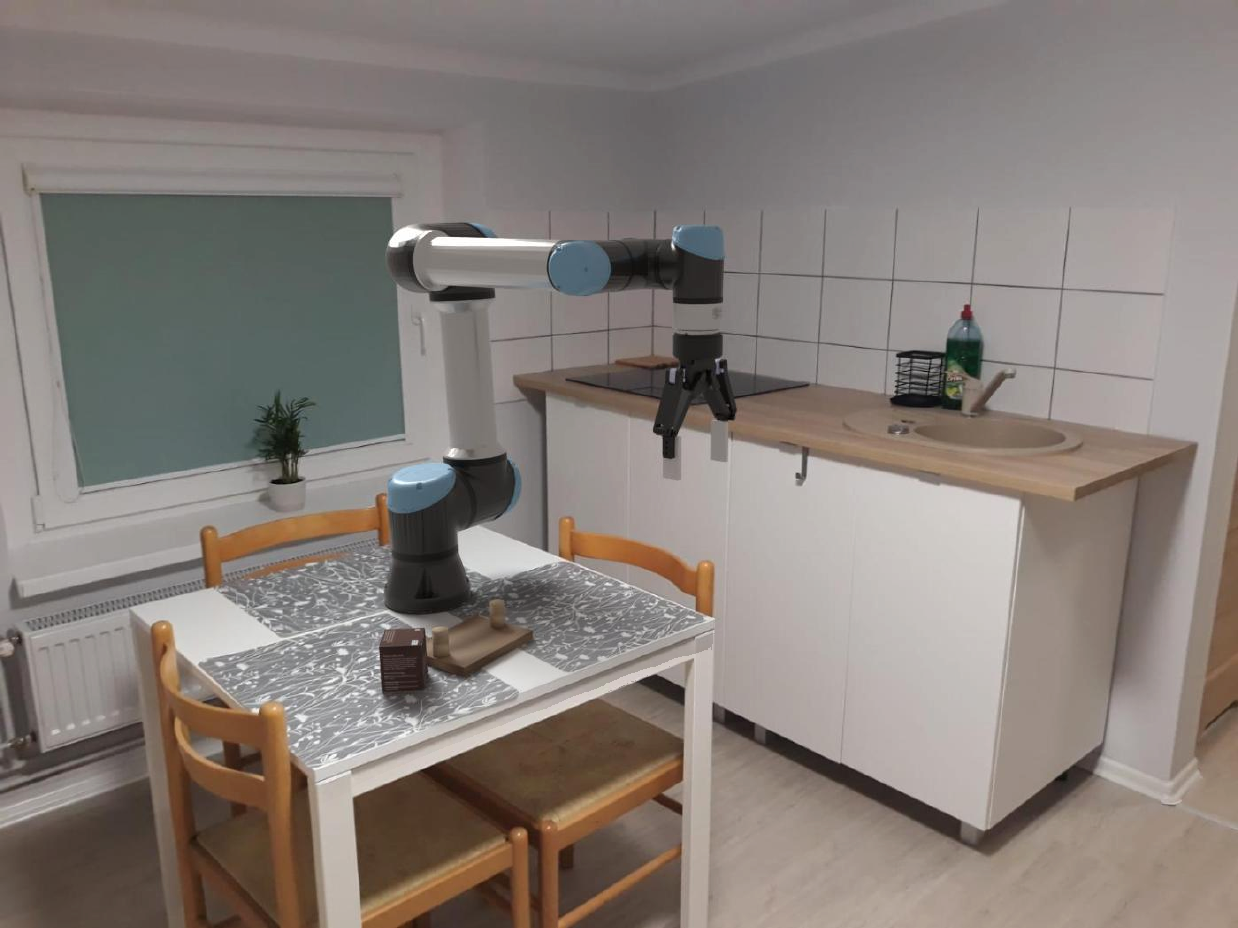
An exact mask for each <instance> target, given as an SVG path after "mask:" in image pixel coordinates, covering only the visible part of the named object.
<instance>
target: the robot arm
mask: <svg viewBox="0 0 1238 928" xmlns="http://www.w3.org/2000/svg"><path fill="white" fill-rule="evenodd" d="M384 259H385V265H386V269H387V272H388V274H389V275H390V278H391V279H392V280H393V281H394V282H395V284H397V285H398V286H399V287H400V288H402V289H404V290H406V291H408V292H412V293H415V294H416V293H417V294H428V297H429V304H430V305H431V306H433V307H434V308H435V309H436V311H438V314H439V325H440V336H441V349H442V350H441V351H442V362H443V371H444V372H443V373H444V385H445V396H446V397H445V399H446V407H447V408H446V409H447V420H448V421H447V422H448V431H449V434H448V435H449V445H448V446H447V447H446V449H445V450H444V451H443V452H442V460H443V461H442V462H424V463H422V464H413V465H409V466H406V467H403V468H402V469H400V470H398V471H395V473H393V474H392V475H391V476H390V478H389V479H388V482H387V484H386V491H387V492H386V494H387V496H386V507H387V516H388V527H389V539H390V540H389V541H390V542H389V543H390V554H391V561H390V564H389V569H388V574H387V578H386V579H387V580H386V582H385V585H384V586H383V587H384V588H383V600H384V604H385V605H386V607H387V608H389V609H391V610H392V611H396V612H400V613H406V614H430V613H431V614H432V613H439V612H444V611H448V610H452V609H455V608H457V607H459V606H461V605H463V604H466V603H467V602H468V601H469V600H470V598H471V596H472V588H471V587H472V586H471V582H470V579H469V576H467V573H466V570H465V567H464V564H463V562H462V558H461V556H460V552H459V551H460V550H459V549H460V548H459V536H458V535H459V533H460V532H462V531H465V530H468V529H471V528H474V527H477V526H479V525H482V524H485V523H489V522H493V521H497V520H499V519H500V518H501V517H503V516H505V515H507V514H509V513H510V512H512V510H513V509H514V508H515V507H516V506H517V505H518V502H519V501H520V497H521V494H522V488H523V483H522V476H521V473H520V470H519V468H518V467H516V463H515V461H514V460H513V459H512V458H511V457H509V456H507V455H508V454H507V448H506V447H505V446H504V445H503V444H501V443H500V442H499V440H498V431H497V428H498V427H497V419H496V418H497V417H496V403H495V391H494V388H495V387H494V378H493V377H494V376H493V375H494V374H493V364H492V349H491V348H492V347H491V334H490V321H489V309H490V307H491V306H492V304H493V303H494V302H495V301H496V289H503V290H523V291H537V292H538V291H539V292H540V291H541V292H554V293H558V292H559V293H562V294H564V295H566V296H574V297H588V296H589V297H591V296H592V295H599V294H606V293H616V292H617V293H618V292H628V291H637V290H664V291H672V316H671V319H672V321H671V322H672V323H671V324H672V325H671V326H672V327H671V328H672V329H673V330H675V332H673V334H672V351H671V352H672V356H673V358H675V359H678V361H679V362H678V368H673V367H667V368H666V369H665V376H664V377H665V378H664V386H663V389H662V393H661V397H660V401H659V404H658V408H657V412H656V414H655V419H654V423H653V427H652V433H653V434H655V435H656V436H661V438H662V446H661V447H662V450H661V451H662V478H663V479H666V480H667V479H669V480H673V481H680V480H682V436H680V435H678V434H679V433H680V430H681V428H682V425H683V423H684V421H685V418H686V415H687V413H688V410H689V409H690V405H691V404H692V401H693V400H695V399H697V396H699V395H702V396H703V397H704V399H705V401H706V403H707V405H708V407H709V410H710V411H711V413H712V415H713V417H714V419H711V421H710V461H714V462H721V463H728V460H729V459H728V458H729V457H728V455H729V453H728V452H729V421H731V422H734V421H735V420H736V414H737V413H738V408H737V403H736V400H735V397H734V396H735V395H734V393H733V388H732V384H731V380H730V376H729V374H728V371H729V370H728V360H727V359H725V358H722V356H723V354H724V352H723V350H724V348H723V346H724V345H723V344H724V336H723V334H722V333H721V332H720V330H722V328H723V326H724V322H723V321H724V315H725V312H724V273H725V259H726V254H725V240H724V231H723V228H721V227H720V226H719V225H716V224H714V225H713V224H712V225H711V224H709V225H708V224H707V225H703V224H702V225H701V224H700V225H699V224H698V225H694V224H693V225H692V224H691V225H687V224H685V225H676V226H675V227H673V229H672V236H671V238H667V239H666V238H665V239H661V238H636V237H635V238H634V237H630V238H629V237H627V238H626V237H623V238H616V239H607V240H604V239H603V240H601V239H600V240H596V239H595V240H592V239H591V240H586V239H584V240H583V239H582V240H581V239H578V240H577V239H567V240H566V239H565V240H564V239H545V238H544V239H542V238H541V239H538V238H503V237H502V238H501V237H500V238H499V237H498V236H497V234H495V232H493V230H492V229H491V228H489V227H487V226H486V225H484V224H480V223H473V222H467V221H466V222H465V221H464V222H463V221H460V222H419V223H418V222H416V223H412V224H411V223H410V224H408V225H405V226H404V227H402V228H400V229H399V230H397V231H396V232H395V233H394V234H393V235H392V236H391V238H390V239H389V241H388V244H387V247H386V250H385V257H384Z"/></svg>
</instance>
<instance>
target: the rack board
mask: <svg viewBox="0 0 1238 928" xmlns="http://www.w3.org/2000/svg"><path fill="white" fill-rule="evenodd" d="M488 606H489V617H486V616H483V615H478V614H475V615H473V616H471V617H469V618H467V619H465V620H463V621H461V622H459V623H456V624H455V625H453V626H451V627H449V628H448V627H446V626H436V627H434V628H432V629H431V636H430V637H428V638H426V646H427V663H428V667H432V668H435V669H439V670H442V671H445V672H448V673H452V674H453V675H457V676H461V677H464V678H466V677H467V676H470V675H471V674H474V673H475V672H476V671H479V670H480V669H482V668H484V667H486V666H487V665H489V664H491V663H492V662H495V661H496V660H499V659H500V658H503V656H506V655H507V654H509V653H511V652H512V651H515V650H516V649H518V648H520V647H522V646H524V645H525V644H527V643H529V642H531V641H532V640H534V630H533V629H529V628H525V627H523V626H522V627H521V626H519V625H517V624H511V623H508V622H506V610H505V608H506V605H505V601H504V600H503V599H498V598H497V599H493V600H490V601H489V605H488Z"/></svg>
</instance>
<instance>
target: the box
mask: <svg viewBox="0 0 1238 928" xmlns="http://www.w3.org/2000/svg"><path fill="white" fill-rule="evenodd" d="M426 639H427V635H426V628H425V627H413V628H394V629H393V628H392V629H390V628H389V629H384V630H383V633H382V636H381V639H380V643H379V645H378V649H379V651H378V652H379V666H380V681H381V682H380V684H381V693H383V694H394V693H412V692H414V693H415V692H424V691H425V690H426V689H425V688H426V685H427V679H428V673H429V668H428V667H429V665H428V663H427V646H426Z"/></svg>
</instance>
